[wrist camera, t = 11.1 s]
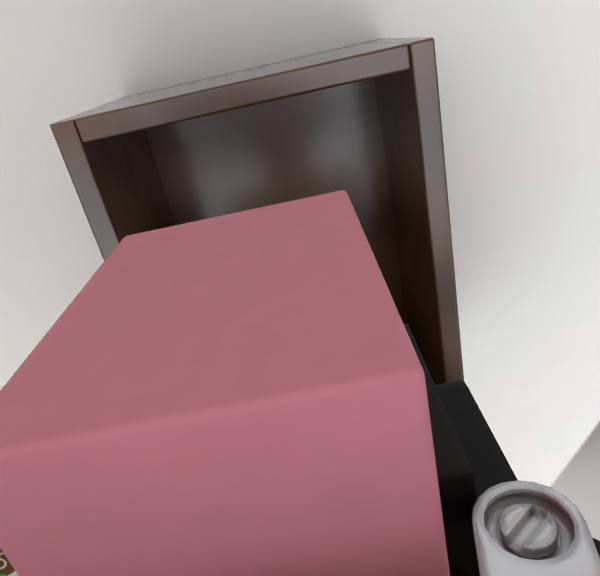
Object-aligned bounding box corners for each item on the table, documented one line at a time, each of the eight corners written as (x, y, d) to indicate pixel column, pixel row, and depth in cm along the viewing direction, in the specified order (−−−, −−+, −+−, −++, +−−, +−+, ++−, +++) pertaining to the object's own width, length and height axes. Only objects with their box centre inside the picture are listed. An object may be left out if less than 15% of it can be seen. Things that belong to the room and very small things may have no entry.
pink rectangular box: (243, 556, 13) (218, 882, 8) (122, 235, 9) (-63, 462, 4) (405, 528, 13) (485, 847, 8) (346, 187, 9) (426, 370, 4)
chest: (122, 97, 25) (48, 124, 17) (383, 38, 24) (434, 36, 16) (212, 366, 32) (189, 475, 24) (419, 325, 31) (468, 423, 23)
